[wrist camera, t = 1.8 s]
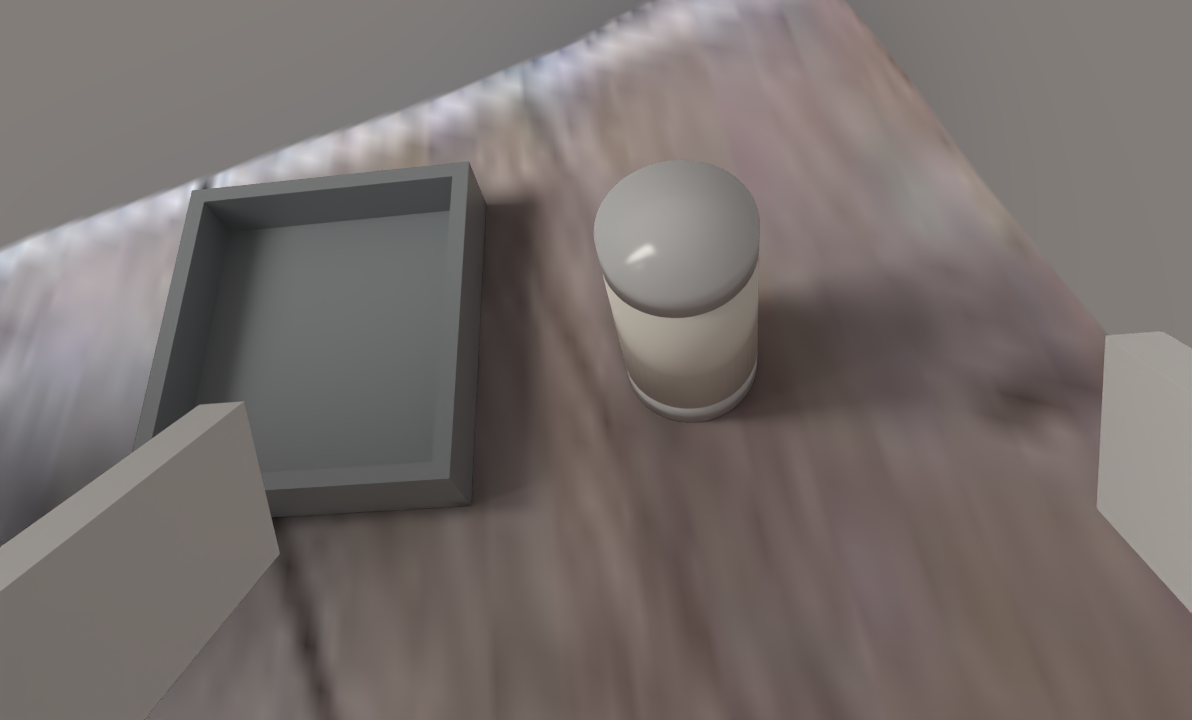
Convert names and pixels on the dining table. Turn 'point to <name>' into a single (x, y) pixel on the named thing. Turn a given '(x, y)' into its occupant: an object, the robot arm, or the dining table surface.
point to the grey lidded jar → (683, 285)
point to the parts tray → (333, 334)
